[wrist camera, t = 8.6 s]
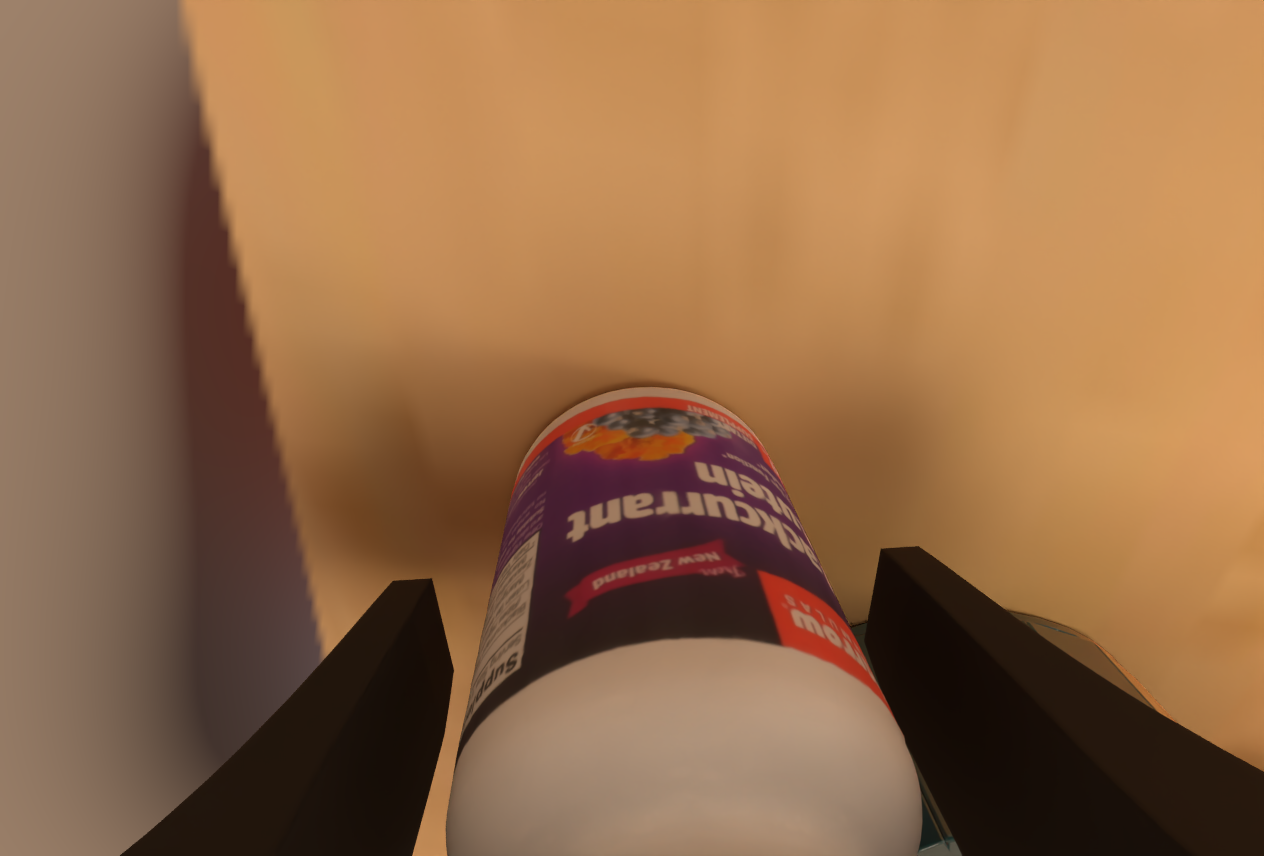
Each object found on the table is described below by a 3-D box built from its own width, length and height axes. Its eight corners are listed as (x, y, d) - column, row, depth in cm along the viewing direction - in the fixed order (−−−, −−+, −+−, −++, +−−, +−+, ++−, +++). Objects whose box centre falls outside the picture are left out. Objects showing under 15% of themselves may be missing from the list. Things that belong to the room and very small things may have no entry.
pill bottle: (814, 416, 13) (1286, 1106, 4) (716, 613, 15) (885, 1315, 6) (548, 344, 12) (427, 1059, 3) (488, 567, 14) (323, 1330, 5)
